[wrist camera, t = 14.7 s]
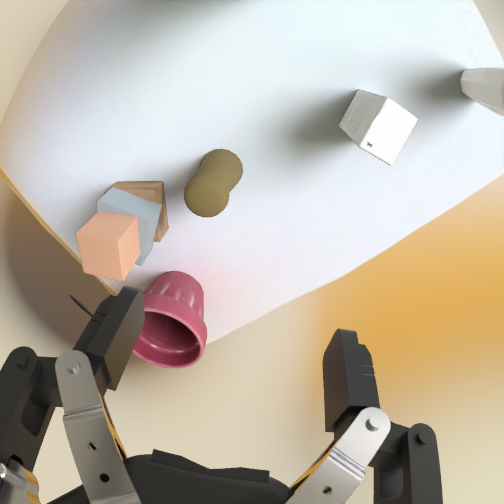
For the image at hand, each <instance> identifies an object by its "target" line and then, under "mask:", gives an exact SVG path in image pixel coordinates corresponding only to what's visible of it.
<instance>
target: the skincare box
mask: <svg viewBox="0 0 504 504" xmlns="http://www.w3.org/2000/svg"><path fill="white" fill-rule="evenodd" d="M417 121H418V119H417V118H416V117H415V116H413V115H412V114H411V113H409V112H408V111H407V110H405V109H404V108H402V107H401V106H400V105H398V104H397V103H395V102H394V101H392V100H391V99H389V98H387V97H384V96H380V95H377V94H374V93H370V92H367V91H364V90H360V89H358V91H357V93H356V94H355V96H354V98H353V100H352V102H351V103H350V105H349V107H348V109H347V111H346V113H345V114H344V116H343V118H342V120H341V122H340V123H339V127H340V128H341V129H342V130H343V131H344V132H345V133H346V134H347V135H348V136H349V137H350V138H351V139H352V140H353V141H354V142H355V143H356V145H357V146H358V147H359V148H361V149H363V150H365V151H366V152H368V153H370V154H372V155H373V156H375V157H377V158H379V159H380V160H382V161H384V162H385V163H387V164H389V165H392V164H393V162H394V160H395V159H396V157H397V155H398V154H399V152H400V150H401V149H402V147H403V145H404V143H405V142H406V140H407V138H408V136H409V135H410V133H411V131H412V129H413V127H414V126H415V124H416V122H417Z"/></svg>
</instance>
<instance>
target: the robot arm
mask: <svg viewBox="0 0 504 504" xmlns="http://www.w3.org/2000/svg"><path fill="white" fill-rule="evenodd" d="M144 320H145V312H144V301H143V292H142V290H140V289H136V288H132V287H128V286H124V287H123V288H122V289H121V291H120V293H119V294H118V296H117V297H116V296H113V295H110V296H109V297H107V298H106V299H105V300H103V301H102V302H101V303H100V305H99V307H98V308H97V310H96V313H94V315H93V316H92V318H91V321H89V323H88V325H87V326H86V328H85V330H84V331H83V333H82V335H81V336H80V338H79V340H78V342H77V343H76V345H75V347H74V348H73V349H72V350H69V351H66V352H64V353H63V354H61V355H60V356H59V357H57V358H56V357H55V358H54V357H38V356H37V355H36V353H35V352H34V351H33V350H32V349H31V348H29V347H18V348H16V349H14V350H13V351H12V352H11V353H10V354H9V356H8V358H7V360H6V361H5V363H4V365H3V367H2V369H1V371H0V504H41V503H40V501H39V497H38V492H39V484H38V481H37V479H36V477H35V476H34V475H33V473H32V471H33V468H34V465H35V462H36V459H37V456H38V453H39V450H40V447H41V445H42V442H43V439H44V436H45V433H46V431H47V428H48V425H49V423H50V420H51V417H52V415H53V412H54V410H55V407H63V408H64V413H65V415H64V416H63V423H64V426H65V430H66V434H67V438H68V441H69V444H70V448H71V451H72V454H73V457H74V460H75V463H76V466H77V469H78V472H79V475H80V478H81V480H82V483H83V484H82V485H80V486H79V487H77V488H75V489H73V490H71V491H70V492H68V493H66V494H64V495H62V496H60V497H58V498H57V499H55V500H53V501H51V502H49V503H47V504H344V503H345V502H346V501H347V499H348V498H349V497H350V495H351V494H352V493H353V492H354V490H355V489H356V487H357V486H358V485H359V483H360V482H361V480H362V479H363V477H364V475H365V473H364V470H365V468H366V467H367V466H370V467H374V504H443V499H442V484H441V474H440V464H439V456H438V448H437V440H436V435H435V433H434V431H433V430H432V428H431V427H429V426H428V425H426V424H423V423H418V424H415V425H413V426H412V427H411V428H408V427H404V426H401V425H398V424H395V423H393V422H391V421H390V419H389V417H388V416H387V414H385V412H384V411H382V410H381V409H380V405H379V398H378V392H377V386H376V380H375V376H374V369H373V363H372V358H371V354H370V353H369V351H368V349H367V348H366V346H365V345H361V344H359V343H358V338H357V333H356V331H351V330H345V329H337V330H336V332H335V334H334V335H333V337H332V339H331V341H330V343H329V345H328V347H327V349H326V351H325V353H324V357H323V380H324V400H325V401H324V403H325V431H326V432H334V440H333V441H332V442H331V443H330V444H329V446H328V447H327V448H326V449H325V450H324V451H323V453H322V454H321V455H320V456H319V457H318V458H317V460H316V461H315V462H314V463H313V464H312V465H311V466H310V467H309V469H308V470H307V471H306V472H305V473H304V474H303V475H302V476H300V478H298V480H296V482H295V483H293V484H292V485H291V486H290V487H287V486H286V485H285V484H283V483H282V482H280V481H278V480H276V479H274V478H272V477H269V471H266V470H258V469H250V468H242V467H239V468H226V469H209V468H206V467H204V466H201V465H199V464H197V463H195V462H193V461H191V460H188V459H186V458H184V457H182V456H179V455H174V454H171V453H166V452H163V451H159V450H156V449H153V453H152V454H146V455H137V456H133V457H129V458H128V457H127V455H126V453H125V450H124V448H123V446H122V443H121V441H120V439H119V437H118V434H117V432H116V430H115V427H114V424H113V422H112V419H111V416H110V413H109V410H108V407H107V404H106V402H105V398H104V395H105V392H106V390H107V388H108V389H111V390H114V391H115V390H116V388H117V386H118V383H119V381H120V379H121V376H122V374H123V372H124V369H125V367H126V365H127V362H128V360H129V358H130V355H131V353H132V351H133V349H134V346H135V344H136V342H137V340H138V337H139V335H140V333H141V331H142V328H143V325H144Z"/></svg>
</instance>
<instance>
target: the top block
mask: <svg viewBox="0 0 504 504" xmlns="http://www.w3.org/2000/svg"><path fill="white" fill-rule="evenodd" d="M161 207H162V205H161V204H158V203H155V202H153V201H150V200H147V199H144V198H142V197H139V196H136V195H133V194H131V193H128V192H125V191H122V190H119V189H117V188H114V187H112V188H111V189H110V190H109V191H108V192H107V193H105V194H104V195H103V196H102V197H101V198H100V199H99V200H98V201H97V210H96V213H97V212H98V211H103V212H110V213H116V214H123V215H130V216H136V217H138V230H139V244H140V256H139V258H138V259H137V261H136V262H135V264H137V265H139V266H142V264H143V262H144V261H145V259H146V258H147V256H148V254H149V253H150V251H151V250H152V246H153V242H154V237H155V233H156V228H157V224H158V219H159V215H160V211H161Z"/></svg>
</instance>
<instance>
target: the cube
mask: <svg viewBox="0 0 504 504" xmlns="http://www.w3.org/2000/svg"><path fill="white" fill-rule="evenodd" d="M76 237H77V242H78V247H79V252H80V257H81V262H82V266H83V270H84V273H88V274H92V275H96V276H100V277H104V278H109V279H113V280H118V281H122V282H123V281H124V279H125V278H126V276H127V275H128V273H129V272H130V270H131V268H132V267H133V265H134V264H135V262H136V261H137V259H138V258H139V256H140V244H139V230H138V217H136V216H130V215H123V214H116V213H110V212H103V211H98V212H97V213H96V214H95V215H94V216H93V217H92V218H91V219H90V220H89V221H88V222H87V223H86V224H85V225H84V226H83V227H82V228H81V229H80V230H79V231H78V232H77V233H76Z"/></svg>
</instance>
